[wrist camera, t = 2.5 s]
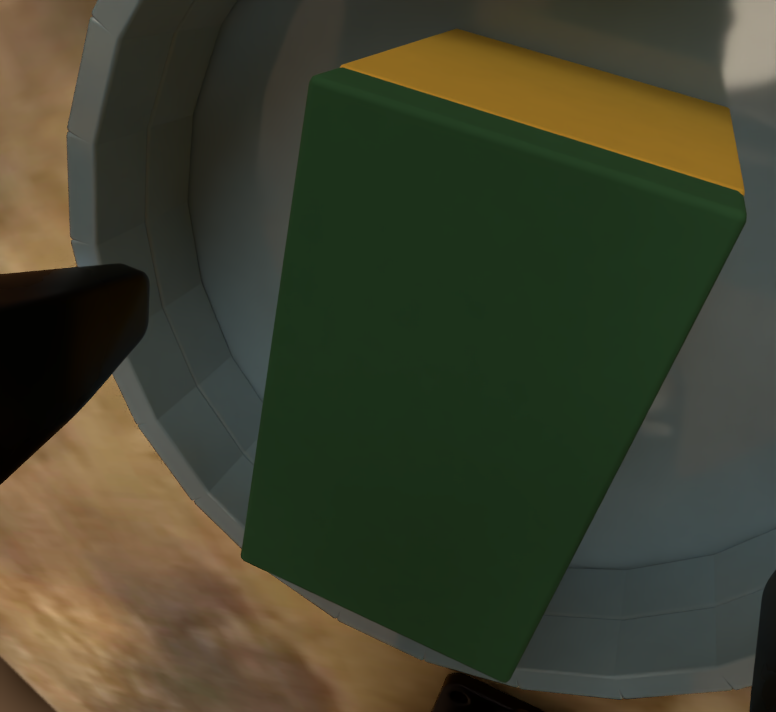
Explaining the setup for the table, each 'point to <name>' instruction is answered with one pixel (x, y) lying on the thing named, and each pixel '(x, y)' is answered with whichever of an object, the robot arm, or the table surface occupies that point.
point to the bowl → (264, 267)
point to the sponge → (475, 327)
